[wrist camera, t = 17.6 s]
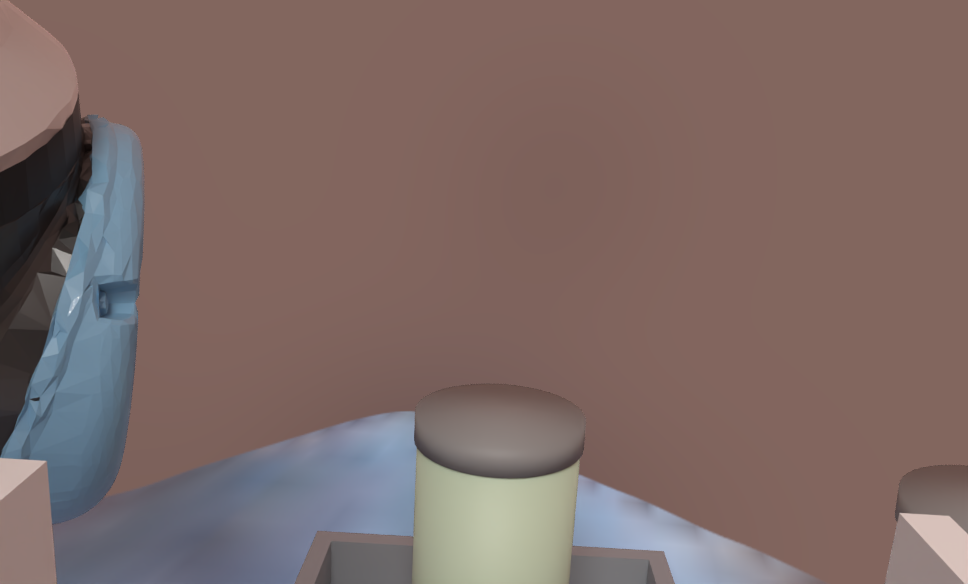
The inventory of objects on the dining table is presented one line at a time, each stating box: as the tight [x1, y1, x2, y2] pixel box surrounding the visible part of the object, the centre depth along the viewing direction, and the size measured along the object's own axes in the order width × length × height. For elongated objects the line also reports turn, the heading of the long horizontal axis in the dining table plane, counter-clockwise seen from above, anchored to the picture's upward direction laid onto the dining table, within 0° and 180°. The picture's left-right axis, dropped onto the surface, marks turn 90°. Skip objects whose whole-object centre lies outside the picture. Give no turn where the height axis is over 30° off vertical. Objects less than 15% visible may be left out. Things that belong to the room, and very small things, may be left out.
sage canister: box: [412, 384, 586, 584], centre depth 30 cm, size 6×6×12 cm
